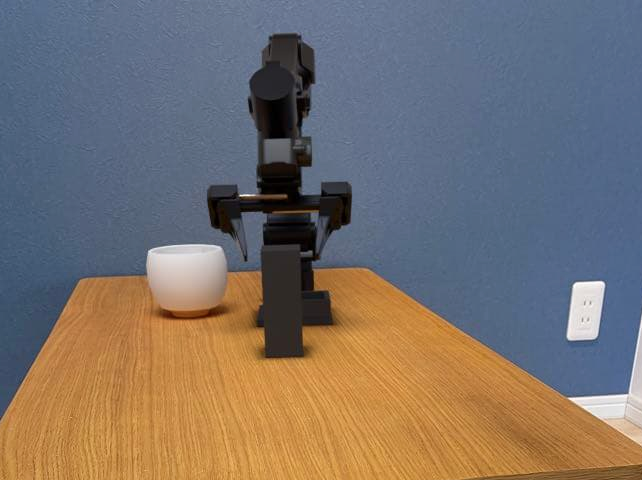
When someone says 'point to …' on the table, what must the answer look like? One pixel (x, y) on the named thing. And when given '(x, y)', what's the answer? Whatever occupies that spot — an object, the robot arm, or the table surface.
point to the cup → (187, 278)
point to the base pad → (310, 308)
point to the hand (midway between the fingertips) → (281, 258)
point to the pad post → (282, 300)
